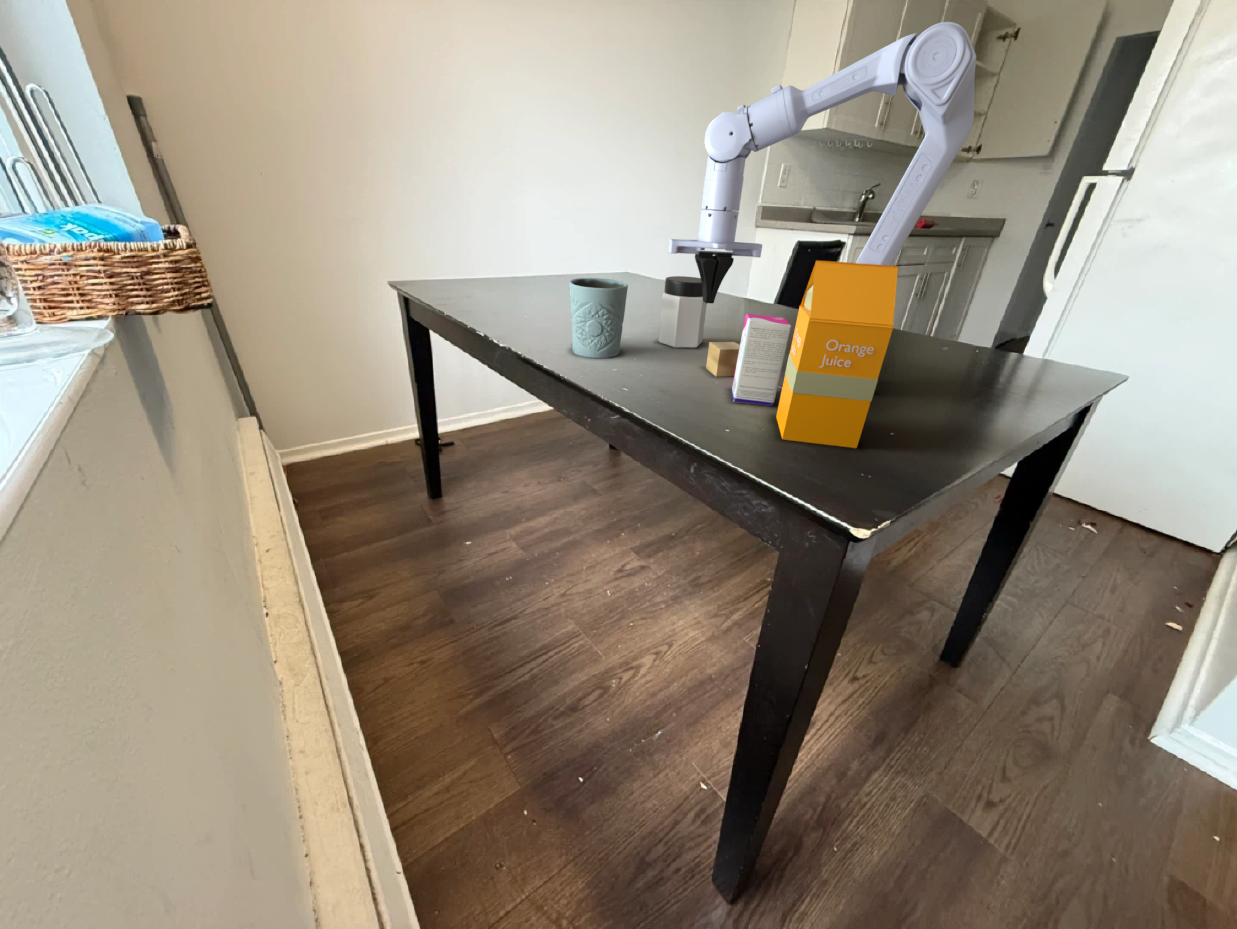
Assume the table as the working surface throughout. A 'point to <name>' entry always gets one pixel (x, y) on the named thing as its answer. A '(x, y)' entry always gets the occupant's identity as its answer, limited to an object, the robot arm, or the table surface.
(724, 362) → the maple block
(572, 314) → the drinking glass
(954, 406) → the table surface
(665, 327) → the jar
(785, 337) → the supplement box
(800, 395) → the orange juice
